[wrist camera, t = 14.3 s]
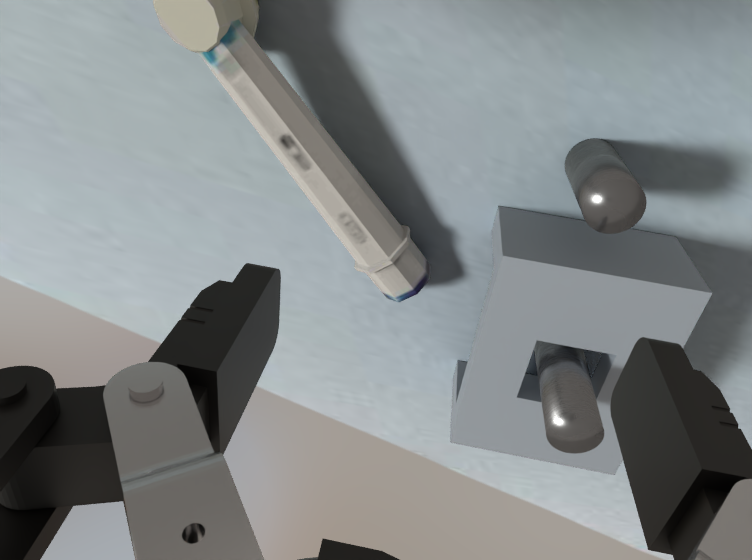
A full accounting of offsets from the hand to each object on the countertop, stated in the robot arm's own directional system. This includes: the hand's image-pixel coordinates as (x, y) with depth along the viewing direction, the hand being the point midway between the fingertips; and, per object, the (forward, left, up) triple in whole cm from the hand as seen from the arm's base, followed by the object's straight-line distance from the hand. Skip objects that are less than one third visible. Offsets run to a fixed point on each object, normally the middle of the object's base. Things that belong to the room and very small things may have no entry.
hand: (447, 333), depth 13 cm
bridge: (+10, -16, -26) cm, 32 cm away
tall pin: (+10, -16, -26) cm, 32 cm away
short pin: (+9, -4, -26) cm, 28 cm away
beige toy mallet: (-9, -5, -27) cm, 29 cm away
